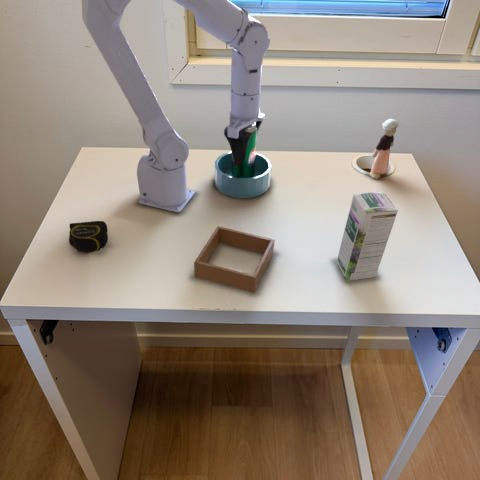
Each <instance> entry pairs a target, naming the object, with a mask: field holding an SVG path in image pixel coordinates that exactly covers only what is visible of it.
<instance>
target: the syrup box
mask: <svg viewBox="0 0 480 480" xmlns="http://www.w3.org/2000/svg"><path fill="white" fill-rule="evenodd" d="M398 212H399V210H398V209H397V207H395V205H394V204H393V202H392V200H391V199H390V198H389V197H388V196H387V194H386V193H385V192H384V191H366V192H359V193H356V194H353V195H352V199H351V203H350V207H349V211H348V215H347V219H346V222H345V227H344V231H343V235H342V238H341V242H340V245H339V250H338V253H337V257H336V264H337V265H338V267H339V269H340V271H341V273H342V275H343V276H344V278H345V280H346V281H347V282H351V281H358V280H359V281H360V280H365V279H372V278H376V276H377V273H378V271H379V267H380V265H381V263H382V260H383V256H384V253H385V250H386V248H387V244H388V241H389V238H390V236H391V233H392V230H393V226H394V224H395V221H396V218H397V215H398Z"/></svg>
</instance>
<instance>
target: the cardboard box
mask: <svg viewBox="0 0 480 480" xmlns="http://www.w3.org/2000/svg"><path fill="white" fill-rule="evenodd" d="M275 241H276V240H275V239H273V238H269V237H266V236H261V235H257V234H254V233H253V234H252V233H249V232H245V231H240V230H236V229H232V228H227V227H223V226H219V225H217V226H216V228H215V229H214V231H213V232H212V234H211V235H210V237H209V238H208V240H207V242H206V243H205V245H204V246H203V248H202V249H201V251H200V253H199V254H198V255H197V257H196V259H195V260H194V261H193V268H194V269H193V271H194V278H196V279H200V280H203V281H207V282H211V283H215V284H219V285H223V286H226V287H230V288H234V289H239V290H242V291H245V292H250V293H253V294H255V293H256V291H257V289H258V287H259V285H260V283H261V281H262V279H263V277H264V274H265V273H266V270H267V268H268V266H269V264H270V262H271V260H272V258H273V256H274V250H275ZM220 244H221V245H225V246H230V247H234V248H238V249H241V250H245V251H250V252H253V253H257V254H261V255H262V258H261V259H260V261H259V263H258V265H257V268H256V270H255V271H254V273H253V274H251V273H246V272H244V271H238V270H236V269H231V268H227V267H223V266H219V265H216V264H211V263H208V262H209V261H210V259H211V258H212V256H213V255H214V253H215V251H216V249H217V248H218V246H219V245H220Z"/></svg>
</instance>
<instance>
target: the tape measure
mask: <svg viewBox="0 0 480 480" xmlns="http://www.w3.org/2000/svg"><path fill="white" fill-rule="evenodd" d="M68 234H69V236H68V242H69V245H70V246H71V247H73V248H74V250H76V251H77V252H80V253H85V254H86V253H94V252H97V251H100V250H102V249H103V248H105V246H106V245H107V244H108V242H109V241H108V240H109V235H108V225H107V222H105V221H104V220H94V221H93V220H92V221H82V222H71V223H69V232H68Z"/></svg>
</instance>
